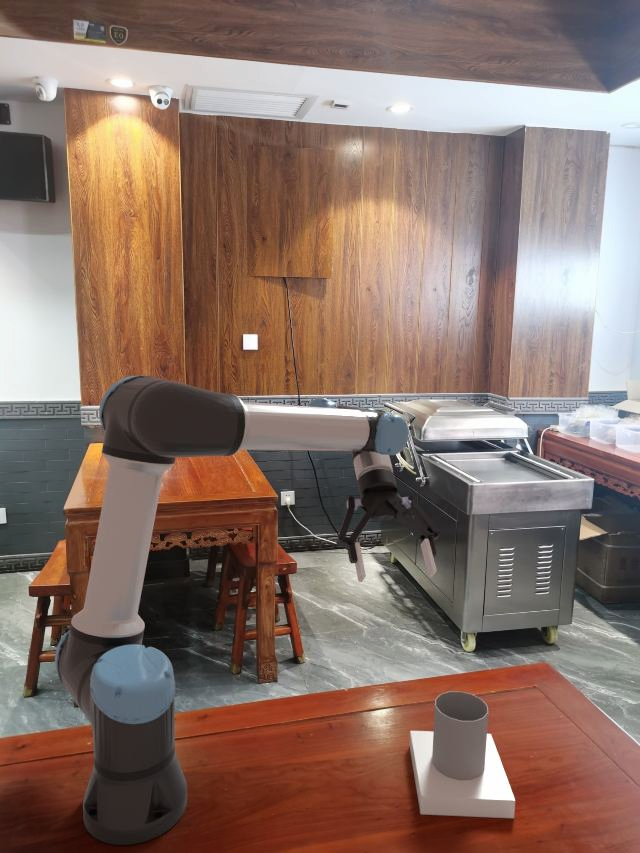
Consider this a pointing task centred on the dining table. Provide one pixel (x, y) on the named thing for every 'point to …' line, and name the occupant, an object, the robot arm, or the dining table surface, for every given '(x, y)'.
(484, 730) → the cup
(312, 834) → the dining table surface
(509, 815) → the raised board
